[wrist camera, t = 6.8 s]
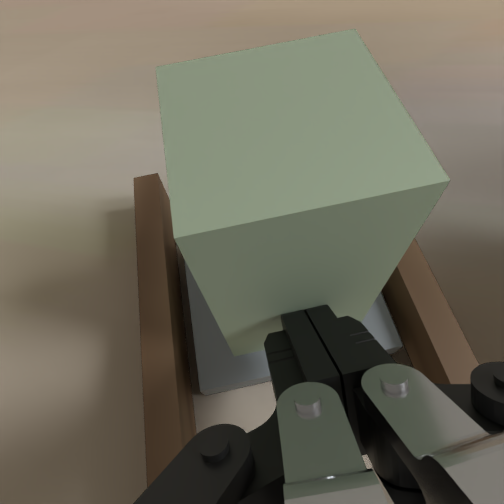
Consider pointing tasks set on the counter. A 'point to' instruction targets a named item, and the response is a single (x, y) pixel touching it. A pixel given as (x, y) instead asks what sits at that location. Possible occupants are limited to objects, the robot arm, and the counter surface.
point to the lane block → (289, 193)
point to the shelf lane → (174, 338)
